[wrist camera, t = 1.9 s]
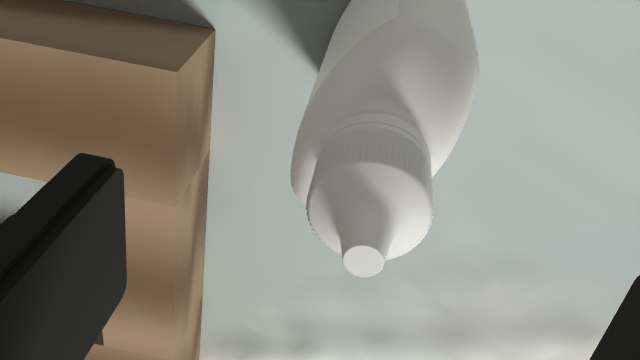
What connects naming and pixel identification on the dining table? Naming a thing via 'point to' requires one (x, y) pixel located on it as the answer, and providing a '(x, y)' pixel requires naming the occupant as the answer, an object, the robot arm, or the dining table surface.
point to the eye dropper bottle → (383, 125)
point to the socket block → (120, 147)
